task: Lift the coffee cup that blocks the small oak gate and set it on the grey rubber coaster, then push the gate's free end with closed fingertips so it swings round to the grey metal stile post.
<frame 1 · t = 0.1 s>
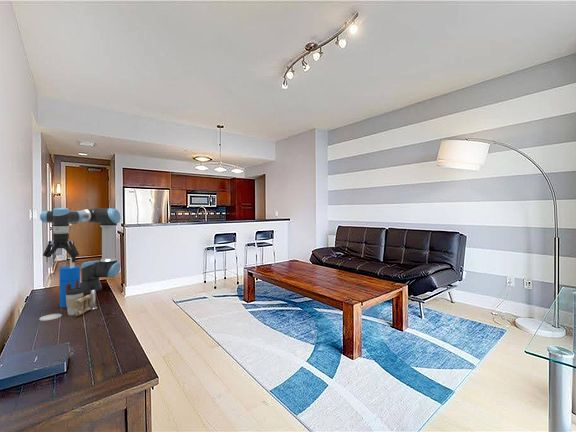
hand: (61, 267, 175), 28 cm above the table, fingers open, 13 cm apart
thermos: (69, 305, 191), on the table
stile post: (74, 308, 184), on the table
hinge post: (93, 308, 184), on the table
gate: (84, 304, 175), point 6 cm above the table, hinge at 0.0°
coaster: (50, 317, 168), on the table
coffee cup: (74, 313, 175), on the table
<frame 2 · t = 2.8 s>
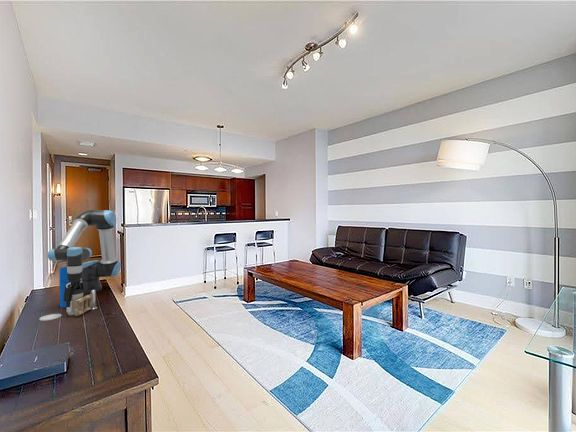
hand: (74, 309, 175), 2 cm above the table, fingers closed on coffee cup, 8 cm apart
coffee cup: (74, 313, 175), on the table, touching gripper
everything else where it was.
when the fingers open (4 cm above the table, at t = 8.4 s): coffee cup drops 1 cm, resting on coaster.
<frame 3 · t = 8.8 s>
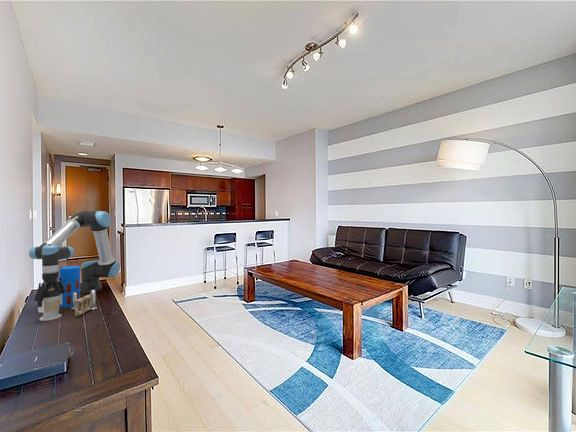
hand: (50, 308, 168), 5 cm above the table, fingers open, 13 cm apart
coffee cup: (50, 316, 168), resting on coaster
everything else where it was.
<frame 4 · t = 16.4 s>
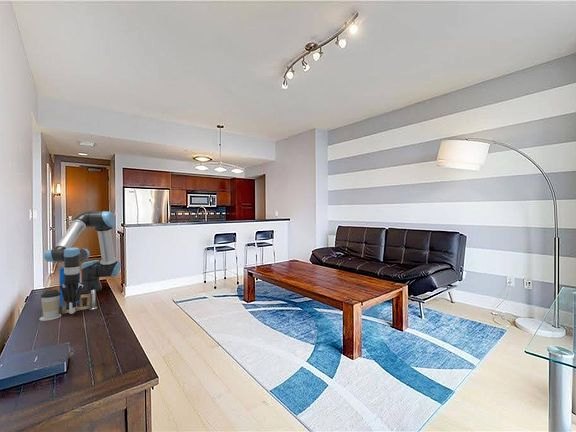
hand: (72, 312, 172), 1 cm above the table, fingers closed
gate: (76, 303, 177), point 6 cm above the table, hinge at 44.1°, touching hand
everything else where it was.
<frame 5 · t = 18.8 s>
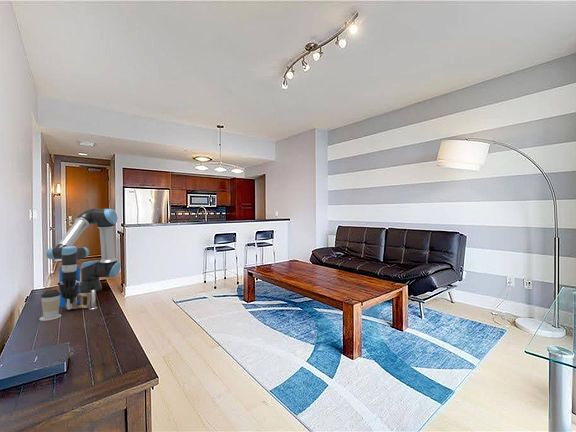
hand: (69, 308, 179), 1 cm above the table, fingers closed
gate: (78, 300, 182), point 6 cm above the table, hinge at 81.8°, touching hand
everything else where it was.
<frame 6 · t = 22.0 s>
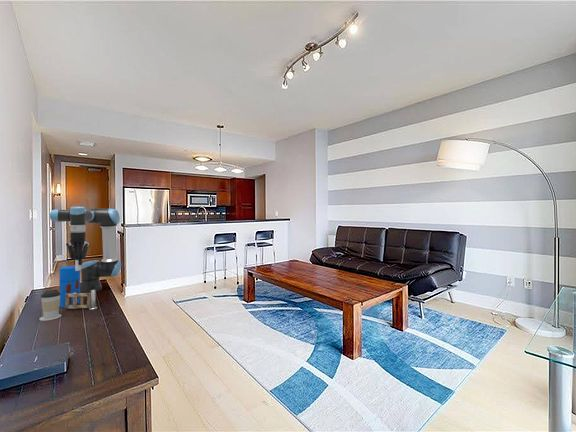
hand: (78, 270, 175), 26 cm above the table, fingers closed
gate: (78, 300, 182), point 6 cm above the table, hinge at 82.4°
everything else where it was.
at the end: gate at +82° (first picture: +0°); coffee cup inside the target area (0.2 cm from its centre), resting on coaster; coffee cup tilted 0° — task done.
